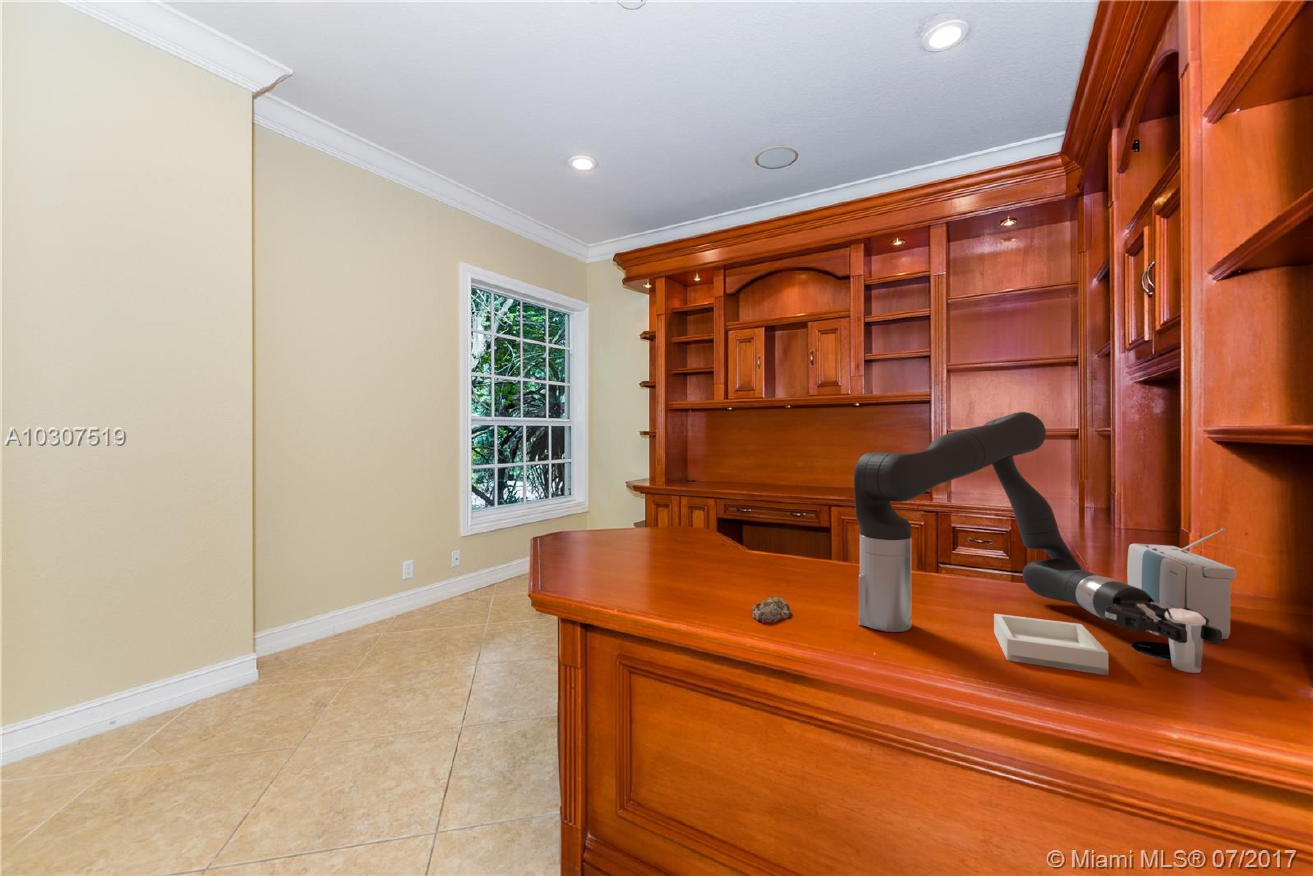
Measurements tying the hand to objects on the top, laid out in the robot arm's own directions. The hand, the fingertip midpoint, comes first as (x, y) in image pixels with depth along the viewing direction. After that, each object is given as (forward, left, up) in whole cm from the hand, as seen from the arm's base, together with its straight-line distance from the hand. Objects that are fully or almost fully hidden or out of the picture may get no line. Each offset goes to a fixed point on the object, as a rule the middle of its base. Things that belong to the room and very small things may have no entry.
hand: (1201, 637), depth 80 cm
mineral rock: (-66, +1, -7) cm, 66 cm away
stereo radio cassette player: (+8, +29, -6) cm, 31 cm away
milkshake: (-1, +2, -6) cm, 7 cm away
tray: (-19, +1, -6) cm, 20 cm away
